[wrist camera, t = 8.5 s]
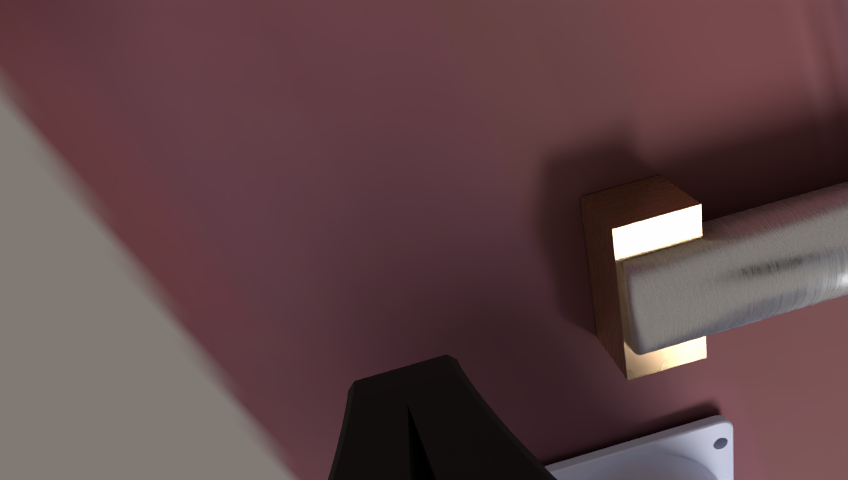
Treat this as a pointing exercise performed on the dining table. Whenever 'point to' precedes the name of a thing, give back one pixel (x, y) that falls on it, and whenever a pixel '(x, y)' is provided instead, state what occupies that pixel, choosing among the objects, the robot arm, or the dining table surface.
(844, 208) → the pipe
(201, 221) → the dining table surface
